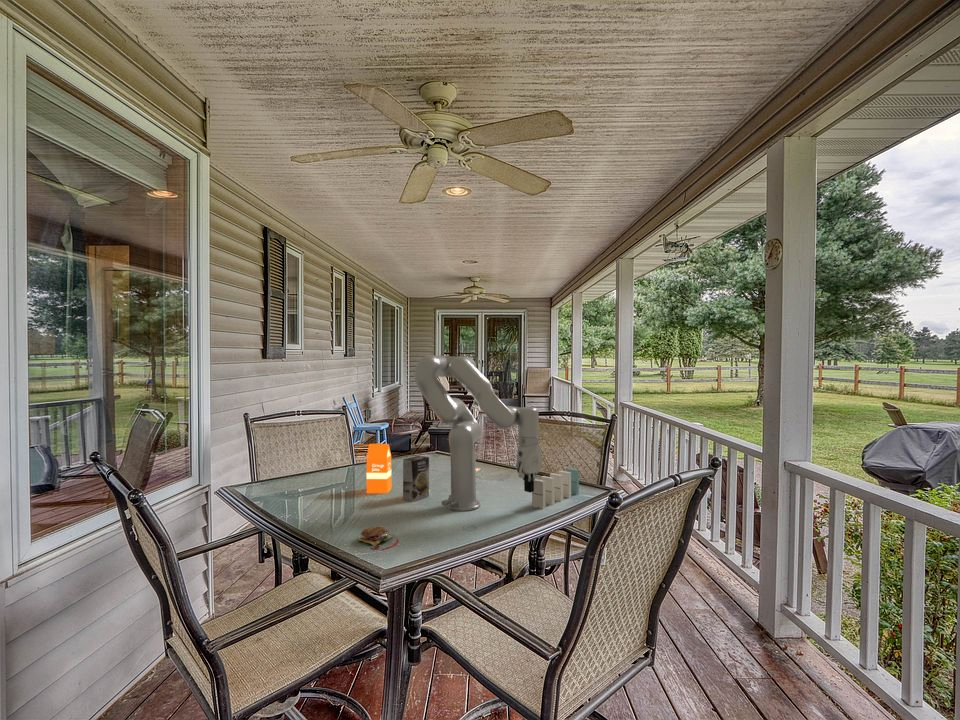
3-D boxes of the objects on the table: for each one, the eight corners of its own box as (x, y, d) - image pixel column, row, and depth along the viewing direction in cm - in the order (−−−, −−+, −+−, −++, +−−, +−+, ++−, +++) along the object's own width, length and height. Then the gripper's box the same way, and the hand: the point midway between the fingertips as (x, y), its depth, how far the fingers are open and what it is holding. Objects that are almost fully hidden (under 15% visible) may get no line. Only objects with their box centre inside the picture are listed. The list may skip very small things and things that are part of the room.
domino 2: (552, 505, 171) (552, 478, 171) (541, 502, 174) (541, 476, 175) (554, 504, 172) (554, 478, 172) (543, 501, 176) (543, 475, 176)
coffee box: (413, 502, 176) (413, 460, 177) (402, 499, 180) (402, 458, 180) (429, 496, 184) (429, 456, 184) (418, 493, 188) (418, 455, 188)
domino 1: (543, 508, 167) (542, 481, 167) (532, 506, 170) (531, 479, 170) (545, 507, 168) (545, 481, 168) (534, 505, 171) (534, 478, 171)
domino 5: (576, 494, 184) (576, 470, 184) (566, 492, 188) (566, 468, 188) (578, 494, 185) (578, 469, 185) (568, 491, 189) (568, 467, 189)
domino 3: (560, 501, 175) (560, 475, 176) (550, 499, 179) (549, 473, 179) (563, 500, 177) (562, 475, 177) (552, 498, 180) (552, 473, 180)
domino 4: (569, 498, 180) (568, 473, 180) (558, 495, 183) (558, 471, 183) (571, 497, 181) (571, 472, 181) (560, 494, 184) (560, 470, 184)
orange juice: (371, 488, 197) (371, 442, 197) (391, 488, 196) (391, 442, 197) (366, 493, 189) (366, 445, 189) (387, 493, 189) (387, 445, 189)
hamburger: (341, 547, 134) (341, 526, 134) (375, 532, 146) (375, 513, 146) (375, 556, 127) (375, 535, 127) (408, 540, 139) (408, 520, 139)
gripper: (524, 445, 157) (524, 498, 156) (548, 439, 168) (549, 489, 167) (507, 442, 162) (508, 493, 162) (532, 437, 173) (533, 485, 172)
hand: (529, 491), depth 164 cm, fingers closed
